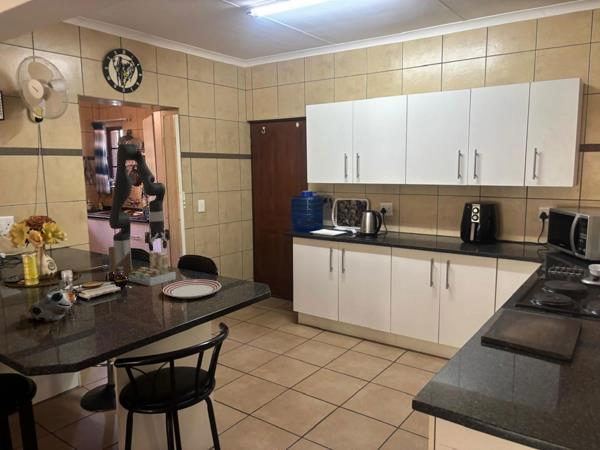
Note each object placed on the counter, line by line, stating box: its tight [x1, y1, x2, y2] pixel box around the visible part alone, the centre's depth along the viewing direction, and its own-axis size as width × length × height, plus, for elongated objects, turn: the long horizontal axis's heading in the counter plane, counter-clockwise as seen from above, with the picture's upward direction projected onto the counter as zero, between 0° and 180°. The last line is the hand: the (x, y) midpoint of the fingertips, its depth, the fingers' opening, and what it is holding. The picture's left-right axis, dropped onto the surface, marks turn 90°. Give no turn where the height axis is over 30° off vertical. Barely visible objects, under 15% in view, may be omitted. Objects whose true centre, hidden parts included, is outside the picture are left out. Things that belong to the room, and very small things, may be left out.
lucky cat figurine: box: [28, 290, 77, 323], centre depth 179 cm, size 15×12×14 cm
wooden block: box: [108, 246, 132, 280], centre depth 239 cm, size 4×11×18 cm, turn 123°
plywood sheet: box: [149, 250, 169, 275], centre depth 241 cm, size 12×2×14 cm, turn 55°
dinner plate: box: [162, 279, 222, 300], centre depth 213 cm, size 28×27×3 cm
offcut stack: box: [135, 266, 160, 279], centre depth 235 cm, size 14×7×6 cm, turn 55°
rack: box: [128, 270, 177, 286], centre depth 238 cm, size 18×16×4 cm
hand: (158, 249), depth 240 cm, fingers open, 8 cm apart
